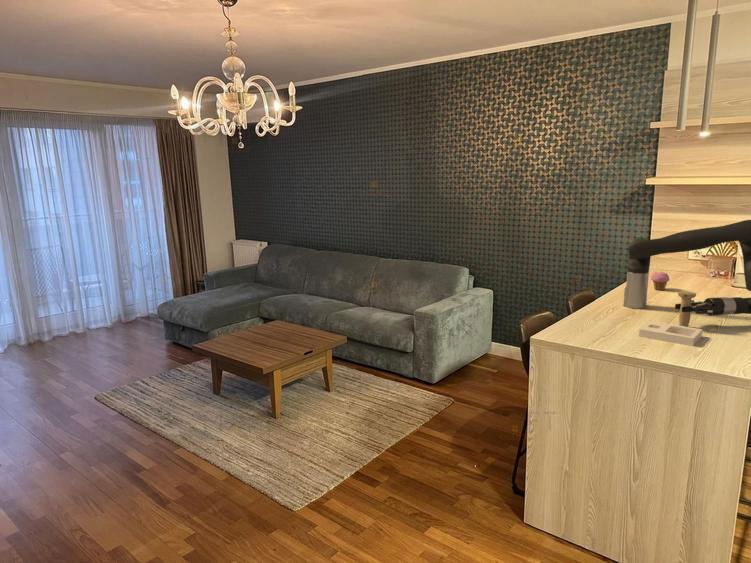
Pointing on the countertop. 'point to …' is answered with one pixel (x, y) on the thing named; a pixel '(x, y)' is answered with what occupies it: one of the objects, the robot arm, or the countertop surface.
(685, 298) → the handle
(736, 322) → the countertop surface
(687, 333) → the plate
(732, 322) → the countertop surface
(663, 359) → the countertop surface
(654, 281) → the cupcake
